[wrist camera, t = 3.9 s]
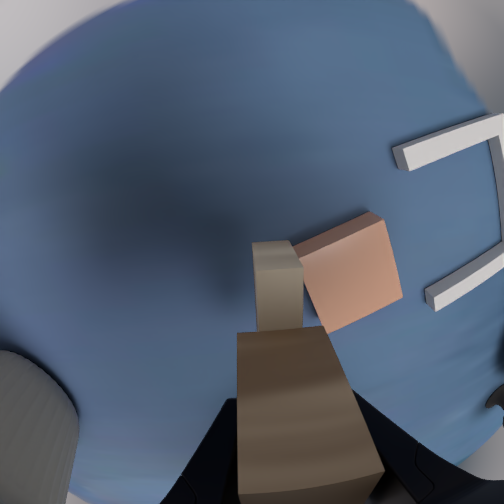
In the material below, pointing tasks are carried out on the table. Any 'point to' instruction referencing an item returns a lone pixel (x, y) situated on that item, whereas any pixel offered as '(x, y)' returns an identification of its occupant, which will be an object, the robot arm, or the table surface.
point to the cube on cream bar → (296, 400)
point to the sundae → (497, 399)
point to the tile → (350, 271)
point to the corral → (500, 142)
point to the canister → (34, 434)
